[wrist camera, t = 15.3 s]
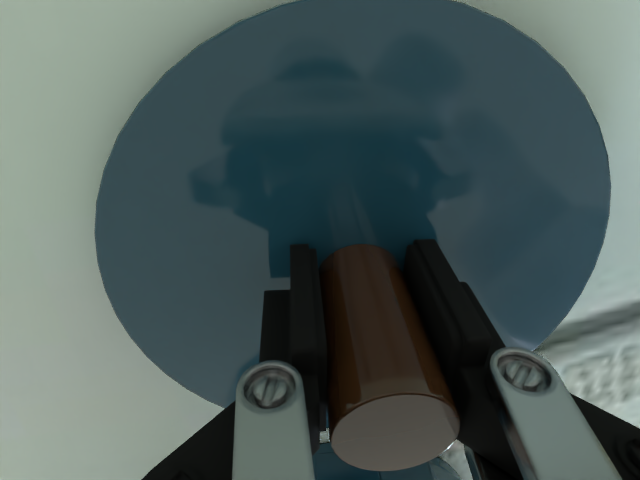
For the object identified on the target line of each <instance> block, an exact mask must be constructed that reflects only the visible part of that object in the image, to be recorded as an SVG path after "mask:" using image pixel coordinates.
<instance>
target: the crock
mask: <svg viewBox="0 0 640 480" xmlns="http://www.w3.org/2000/svg"><path fill="white" fill-rule="evenodd" d="M312 461H313V469H314V477H315V480H461V479H460V477H459V475H458V474H457V472H456V471H455V470H454V469H453V468H452V467H451V466H450V465H449V464H447V463H446V462H444V461H443V460H442V459H440V458H438V457H436V458H434V459H432V460H430V461H428V462H426V463H423V464H421V465H418V466H415V467H411V468H407V469H402V470H396V471H370V470H364V469H359V468H356V467H353V466H351V465H349V464H347V463H345V462H343V461H342V460H341V459H340V458H338V456H337V455H336V454H335V453H334V451H333V449H332V447H331V444H330V443H323V444H320V448H319V450H318V451H317V452H316V453H315V454H314V455H313V456H312Z"/></svg>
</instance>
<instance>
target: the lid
mask: <svg viewBox="0 0 640 480" xmlns="http://www.w3.org/2000/svg"><path fill="white" fill-rule="evenodd" d="M610 196H611V180H610V171H609V161H608V154H607V151H606V147H605V144H604V140H603V137H602V133H601V130H600V126H599V124H598V122H597V120H596V118H595V116H594V114H593V112H592V109H591V107H590V105H589V103H588V101H587V99H586V97H585V95H584V94H583V92H582V91H581V90H580V88H579V87H578V86H577V84H576V83H575V82H574V80H573V79H572V78H571V76H570V75H569V73H568V72H567V71H566V69H565V68H564V67H563V66H562V65H561V64H560V63H559V62H558V61H557V60H556V59H555V58H554V57H553V56H551V55H550V54H549V53H548V52H547V51H546V50H545V49H544V48H543V47H542V46H541V45H540V44H539V43H538V42H536V41H535V40H533V39H532V38H530V37H529V36H527V35H526V34H524V33H523V32H521V31H520V30H518V29H516V28H515V27H513V26H512V25H510V24H509V23H507V22H506V21H504V20H502V19H500V18H497V17H495V16H493V15H490V14H488V13H486V12H483V11H481V10H479V9H476V8H474V7H471V6H469V5H467V4H464V3H460V2H456V1H452V0H294V1H290V2H286V3H282V4H279V5H277V6H274V7H272V8H269V9H267V10H264V11H262V12H259V13H257V14H255V15H252V16H250V17H247V18H245V19H242V20H240V21H238V22H236V23H235V24H233V25H231V26H230V27H228V28H226V29H225V30H223V31H221V32H220V33H218V34H216V35H215V36H213V37H211V38H209V39H208V40H206V41H204V42H203V43H201V44H200V45H198V46H197V47H196V48H195V49H194V50H192V51H191V52H190V53H189V54H188V55H186V56H185V57H184V58H183V59H181V60H180V61H179V62H178V63H177V64H175V65H174V66H173V67H172V68H171V69H169V70H168V71H167V72H166V73H165V74H164V75H163V76H162V77H161V78H160V79H159V81H158V82H157V83H156V84H155V85H154V86H153V87H152V88H151V90H150V91H149V92H148V93H147V94H146V95H145V96H144V97H143V99H142V100H141V101H140V102H139V103H138V105H137V106H136V108H135V109H134V111H133V113H132V114H131V116H130V117H129V119H128V121H127V122H126V124H125V125H124V127H123V128H122V130H121V132H120V133H119V135H118V137H117V139H116V141H115V144H114V146H113V149H112V151H111V153H110V156H109V158H108V161H107V163H106V165H105V168H104V171H103V175H102V180H101V184H100V188H99V193H98V197H97V201H96V217H95V242H96V251H97V261H98V266H99V270H100V273H101V277H102V280H103V284H104V288H105V291H106V293H107V295H108V298H109V300H110V302H111V304H112V307H113V309H114V311H115V313H116V315H117V317H118V319H119V320H120V322H121V323H122V325H123V326H124V328H125V330H126V331H127V333H128V334H129V336H130V337H131V339H132V340H133V341H134V342H135V343H136V344H137V346H138V347H139V348H140V349H141V350H142V352H143V353H144V354H145V355H146V356H147V357H148V358H149V359H150V360H151V361H152V362H153V363H154V364H155V365H156V366H158V367H159V368H160V369H161V370H162V371H163V372H164V373H165V374H166V375H168V376H169V377H171V378H172V379H173V380H175V381H176V382H178V383H179V384H180V385H182V386H183V387H185V388H186V389H188V390H189V391H191V392H193V393H195V394H197V395H198V396H200V397H202V398H204V399H205V400H207V401H209V402H212V403H214V404H216V405H218V406H221V407H223V408H227V407H228V406H229V405H230V404H231V403H233V402H234V401H235V400H236V388H237V384H238V380H239V379H240V377H241V376H242V374H243V373H244V372H245V371H246V370H247V369H248V368H250V367H251V366H253V365H255V364H257V363H259V355H260V341H261V328H262V314H263V301H264V291H266V290H288V289H290V245H291V244H309V249H315V248H316V252H317V261H318V270H319V279H320V288H321V297H322V306H323V315H324V324H325V333H326V343H327V390H326V405H327V416H326V428H329V437H330V444H331V447H332V449H333V451H334V453H335V454H336V455H337V456H338V458H340V459H341V460H342V461H343V462H345V463H347V464H349V465H351V466H353V467H356V468H359V469H364V470H370V471H396V470H402V469H407V468H411V467H415V466H418V465H421V464H423V463H426V462H428V461H430V460H432V459H434V458H436V457H437V456H439V455H441V454H442V453H443V452H444V451H446V450H447V449H448V448H449V447H450V446H451V445H452V444H453V443H454V441H455V440H456V438H457V437H458V435H459V432H460V428H461V417H460V414H459V411H458V409H457V406H456V404H455V401H454V399H453V396H452V394H451V391H450V389H449V386H448V384H447V381H446V379H445V376H444V374H443V371H442V369H441V367H440V364H439V362H438V359H437V357H436V354H435V352H434V349H433V347H432V344H431V342H430V339H429V337H428V334H427V332H426V329H425V327H424V324H423V322H422V319H421V317H420V314H419V312H418V309H417V307H416V304H415V302H414V299H413V297H412V294H411V292H410V289H409V287H408V285H407V282H406V280H405V277H404V275H403V271H404V263H405V256H406V249H407V245H413V242H414V240H418V239H435V240H436V242H437V244H438V245H439V247H440V249H441V251H442V252H443V254H444V256H445V257H446V259H447V261H448V263H449V264H450V266H451V268H452V270H453V271H454V273H455V275H456V276H457V278H458V280H459V282H466V283H467V284H468V285H469V286H470V288H471V290H472V291H473V293H474V295H475V296H476V298H477V299H478V301H479V303H480V304H481V306H482V308H483V309H484V311H485V313H486V314H487V316H488V318H489V319H490V321H491V323H492V324H493V326H494V328H495V329H496V331H497V333H498V334H499V336H500V338H501V339H502V341H503V343H504V344H505V346H506V347H517V348H523V349H526V350H529V351H532V352H533V351H534V350H535V349H536V348H537V347H538V346H539V345H540V344H541V343H542V342H543V341H544V340H545V339H546V338H547V337H549V336H550V334H551V333H552V332H553V331H554V330H555V328H556V327H557V326H558V325H559V324H560V323H561V321H562V320H563V319H564V318H565V317H566V315H567V314H568V312H569V311H570V309H571V308H572V307H573V305H574V304H575V302H576V301H577V299H578V298H579V296H580V295H581V293H582V291H583V289H584V287H585V285H586V283H587V282H588V280H589V278H590V276H591V274H592V272H593V270H594V268H595V265H596V262H597V259H598V257H599V254H600V251H601V248H602V245H603V243H604V238H605V233H606V229H607V224H608V219H609V213H610Z"/></svg>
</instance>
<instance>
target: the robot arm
mask: <svg viewBox="0 0 640 480" xmlns="http://www.w3.org/2000/svg"><path fill="white" fill-rule="evenodd" d="M403 275H404V277H405V280H406V282H407V285H408V287H409V289H410V292H411V294H412V297H413V299H414V302H415V304H416V307H417V309H418V312H419V314H420V317H421V319H422V322H423V324H424V327H425V329H426V332H427V334H428V337H429V339H430V342H431V344H432V347H433V349H434V352H435V354H436V357H437V359H438V362H439V364H440V367H441V369H442V371H443V374H444V376H445V379H446V381H447V384H448V386H449V389H450V391H451V394H452V396H453V399H454V401H455V404H456V406H457V409H458V411H459V414H460V417H461V428H460V432H459V435H458V437H457V438H456V439H457V440H458V441H460V442H461V443H463V444H464V450H465V455H466V458H467V461H468V464H469V468H470V471H471V474H472V477H473V480H640V429H639V428H637V427H635V426H633V425H631V424H630V423H628V422H626V421H624V420H622V419H620V418H618V417H616V416H614V415H612V414H610V413H608V412H606V411H604V410H602V409H600V408H598V407H596V406H594V405H592V404H590V403H588V402H586V401H584V400H582V399H580V398H578V397H576V396H575V395H573V394H571V393H569V391H568V390H567V388H566V386H565V385H564V383H563V382H562V380H561V378H560V377H559V375H558V373H557V372H556V370H555V369H554V368H553V367H552V365H551V364H550V363H549V362H548V361H546V360H545V359H544V358H543V357H541V356H540V355H538V354H536V353H534V352H532V351H529V350H526V349H523V348H517V347H506V346H505V344H504V343H503V341H502V339H501V338H500V336H499V334H498V333H497V331H496V329H495V328H494V326H493V324H492V323H491V321H490V319H489V318H488V316H487V314H486V313H485V311H484V309H483V308H482V306H481V304H480V303H479V301H478V299H477V298H476V296H475V295H474V293H473V291H472V290H471V288H470V286H469V285H468V284H467V283H466V282H459V280H458V278H457V276H456V275H455V273H454V271H453V270H452V268H451V266H450V264H449V263H448V261H447V259H446V257H445V256H444V254H443V252H442V251H441V249H440V247H439V245H438V244H437V242H436V240H435V239H418V240H414V242H413V245H407V249H406V256H405V263H404V271H403ZM326 390H327V343H326V333H325V324H324V315H323V306H322V297H321V288H320V279H319V270H318V261H317V252H316V248H315V249H309V244H291V245H290V289H288V290H266V291H264V301H263V314H262V328H261V341H260V355H259V363H257V364H255V365H253V366H251V367H250V368H248V369H247V370H246V371H245V372H244V373H243V374H242V376H241V377H240V379H239V380H238V384H237V388H236V400H235V401H234V402H233V403H231V404H230V405H229V406H228V407H227V408H225V409H224V410H223V411H222V412H221V413H219V414H218V415H217V416H216V417H215V418H213V419H212V420H211V421H210V422H208V423H207V424H206V425H205V426H204V427H202V428H201V429H200V430H199V431H198V432H196V433H195V434H194V435H193V436H192V437H190V438H189V439H188V440H187V441H186V442H184V443H183V444H182V445H181V446H179V447H178V448H177V449H176V450H175V451H173V452H172V453H171V454H170V455H169V456H167V457H166V458H165V459H164V460H163V461H161V462H160V463H159V464H158V465H157V466H155V467H154V468H153V469H152V470H151V471H150V472H149V473H148V474H147V475H146V476H145V477H144V478H143V479H142V480H315V477H314V469H313V461H312V456H313V455H314V454H315V453H316V452H317V451H318V450H319V448H320V432H321V431H326V416H327V405H326Z"/></svg>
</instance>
